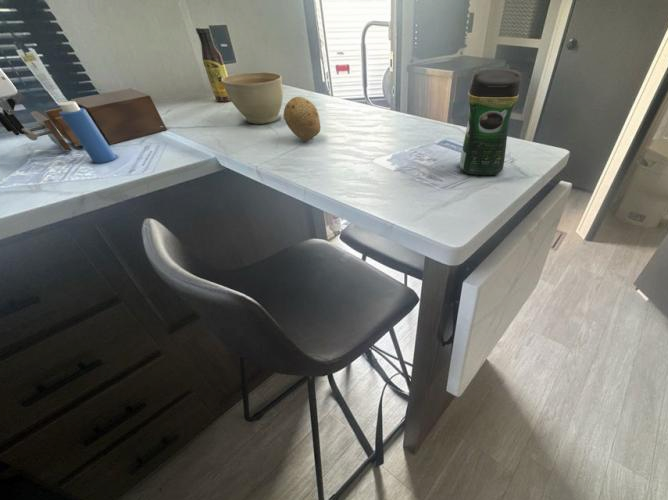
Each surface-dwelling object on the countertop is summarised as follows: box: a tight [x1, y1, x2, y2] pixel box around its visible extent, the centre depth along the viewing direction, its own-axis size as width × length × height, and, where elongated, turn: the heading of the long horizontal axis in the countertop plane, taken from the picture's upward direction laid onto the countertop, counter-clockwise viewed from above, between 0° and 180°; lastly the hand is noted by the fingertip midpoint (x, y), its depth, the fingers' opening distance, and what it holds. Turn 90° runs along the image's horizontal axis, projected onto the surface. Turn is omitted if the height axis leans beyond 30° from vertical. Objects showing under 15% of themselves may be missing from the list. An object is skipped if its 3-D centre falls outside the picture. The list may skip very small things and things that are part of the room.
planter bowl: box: [221, 71, 284, 125], centre depth 93 cm, size 16×16×11 cm
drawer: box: [22, 106, 106, 152], centre depth 80 cm, size 18×11×7 cm, turn 142°
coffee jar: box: [459, 68, 521, 176], centre depth 65 cm, size 10×8×19 cm
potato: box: [283, 96, 321, 142], centre depth 81 cm, size 9×9×10 cm
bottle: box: [58, 100, 117, 164], centre depth 72 cm, size 5×5×12 cm
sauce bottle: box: [195, 26, 232, 103], centre depth 105 cm, size 6×6×20 cm
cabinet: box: [70, 88, 167, 145], centre depth 86 cm, size 15×13×9 cm
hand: (19, 133), depth 74 cm, fingers closed
